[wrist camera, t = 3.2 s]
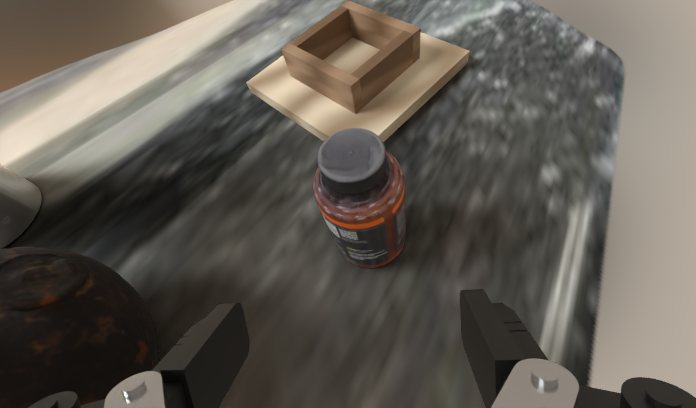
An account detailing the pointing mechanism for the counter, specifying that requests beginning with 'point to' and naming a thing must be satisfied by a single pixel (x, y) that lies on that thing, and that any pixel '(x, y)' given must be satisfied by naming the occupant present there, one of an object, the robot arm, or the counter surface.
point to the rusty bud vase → (68, 327)
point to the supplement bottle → (361, 197)
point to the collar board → (357, 73)
